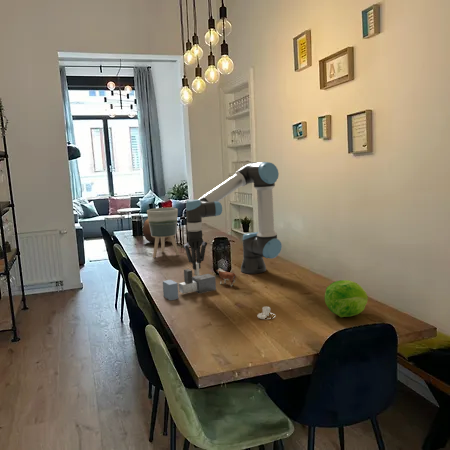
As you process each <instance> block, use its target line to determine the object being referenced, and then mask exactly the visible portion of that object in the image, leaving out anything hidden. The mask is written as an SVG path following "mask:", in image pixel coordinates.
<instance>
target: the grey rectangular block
mask: <svg viewBox="0 0 450 450" xmlns="http://www.w3.org/2000/svg"><path fill="white" fill-rule="evenodd" d="M192 278H193V280H196V281H198V291H194V292H195V293H197V294H199V295H200V294H205V293H210V292H213V291H214V292H215V291H216V290H217V283H216V276H215V275H212V274H210V273H206V274H199V276H196V275H194V276H192Z"/></svg>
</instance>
